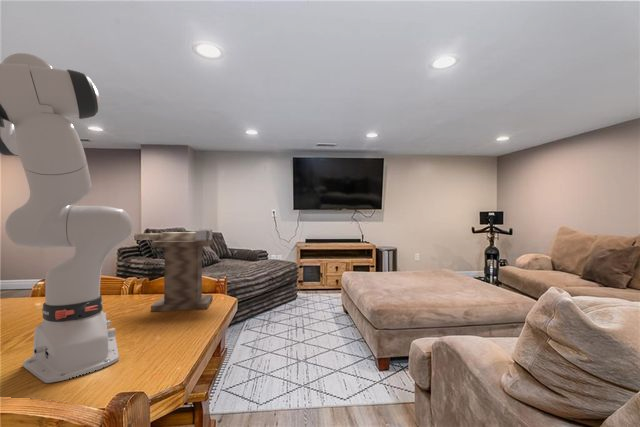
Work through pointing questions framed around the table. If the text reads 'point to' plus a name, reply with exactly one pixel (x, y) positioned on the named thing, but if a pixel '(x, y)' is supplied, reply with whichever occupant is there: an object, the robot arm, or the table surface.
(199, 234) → the cup bracket
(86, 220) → the robot arm
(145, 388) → the table surface
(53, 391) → the table surface
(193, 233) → the ash rail
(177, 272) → the walnut stand
